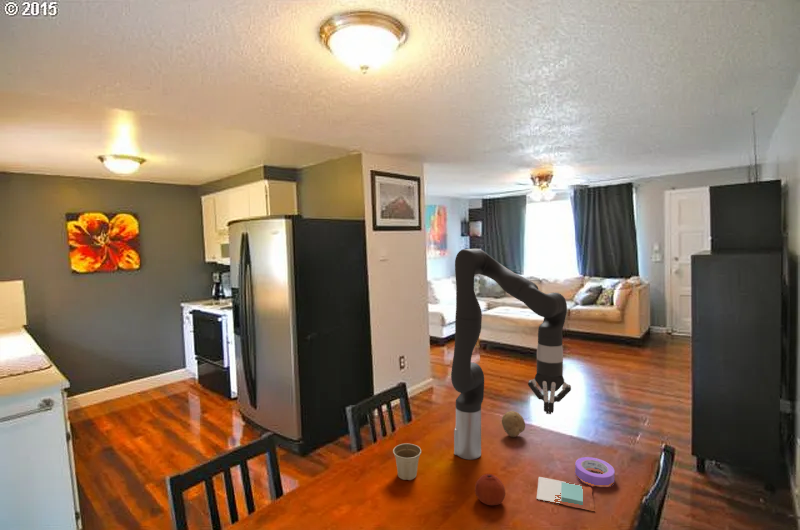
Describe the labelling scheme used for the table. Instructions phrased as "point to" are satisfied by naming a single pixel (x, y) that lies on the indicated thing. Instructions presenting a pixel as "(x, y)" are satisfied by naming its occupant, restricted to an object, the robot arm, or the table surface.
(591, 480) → the masking tape
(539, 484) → the mat
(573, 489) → the tile
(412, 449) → the flower pot
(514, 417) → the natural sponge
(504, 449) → the table surface
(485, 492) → the fruit
